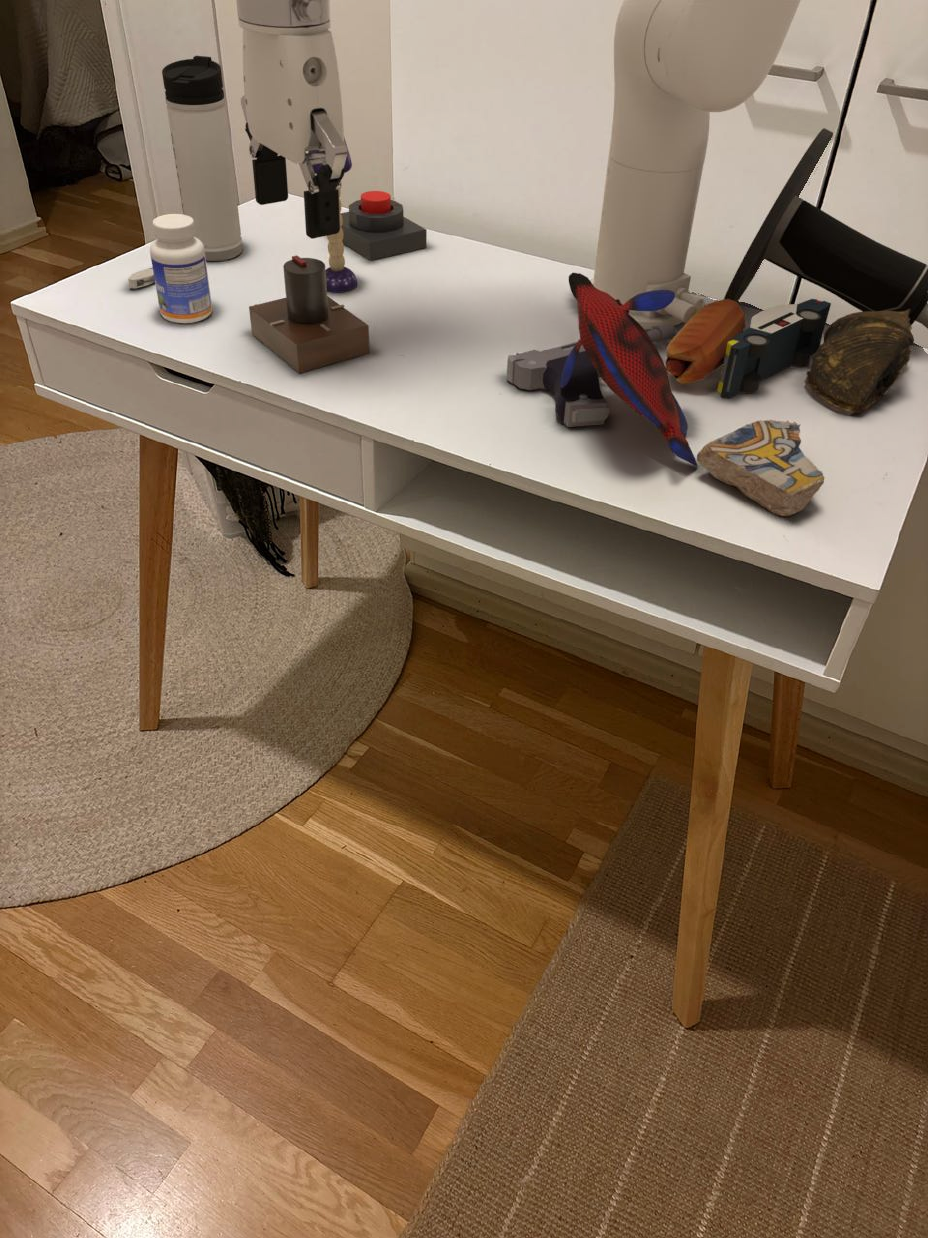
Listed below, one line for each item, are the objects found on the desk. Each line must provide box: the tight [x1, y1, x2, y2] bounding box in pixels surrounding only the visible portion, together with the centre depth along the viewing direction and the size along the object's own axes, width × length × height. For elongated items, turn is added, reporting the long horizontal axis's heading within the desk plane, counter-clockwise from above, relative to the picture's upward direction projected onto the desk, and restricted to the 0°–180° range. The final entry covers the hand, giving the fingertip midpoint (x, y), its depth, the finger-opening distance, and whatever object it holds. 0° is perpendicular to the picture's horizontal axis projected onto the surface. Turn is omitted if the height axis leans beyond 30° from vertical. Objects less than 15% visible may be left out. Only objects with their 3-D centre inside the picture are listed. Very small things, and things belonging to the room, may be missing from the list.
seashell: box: [803, 309, 915, 414], centre depth 97 cm, size 16×9×7 cm, turn 148°
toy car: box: [716, 298, 832, 399], centre depth 98 cm, size 5×16×5 cm
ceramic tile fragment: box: [696, 419, 825, 517], centre depth 83 cm, size 12×3×10 cm
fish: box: [560, 272, 699, 468], centre depth 87 cm, size 20×12×15 cm
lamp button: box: [360, 190, 392, 214], centre depth 119 cm, size 4×4×2 cm
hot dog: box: [665, 298, 746, 384], centre depth 98 cm, size 5×13×5 cm
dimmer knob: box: [282, 255, 328, 324], centre depth 97 cm, size 4×4×5 cm
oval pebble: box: [127, 267, 155, 289], centre depth 111 cm, size 6×2×1 cm, turn 152°
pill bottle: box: [149, 213, 213, 324], centre depth 102 cm, size 5×5×10 cm
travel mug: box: [161, 55, 244, 262], centre depth 112 cm, size 6×7×20 cm
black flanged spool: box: [723, 127, 928, 330], centre depth 103 cm, size 19×19×25 cm
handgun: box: [506, 324, 677, 428], centre depth 96 cm, size 3×20×12 cm
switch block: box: [340, 199, 428, 261], centre depth 121 cm, size 10×8×4 cm
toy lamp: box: [307, 137, 358, 293], centre depth 106 cm, size 5×5×17 cm
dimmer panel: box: [248, 295, 371, 374], centre depth 100 cm, size 10×8×3 cm
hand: (297, 217), depth 93 cm, fingers open, 9 cm apart
